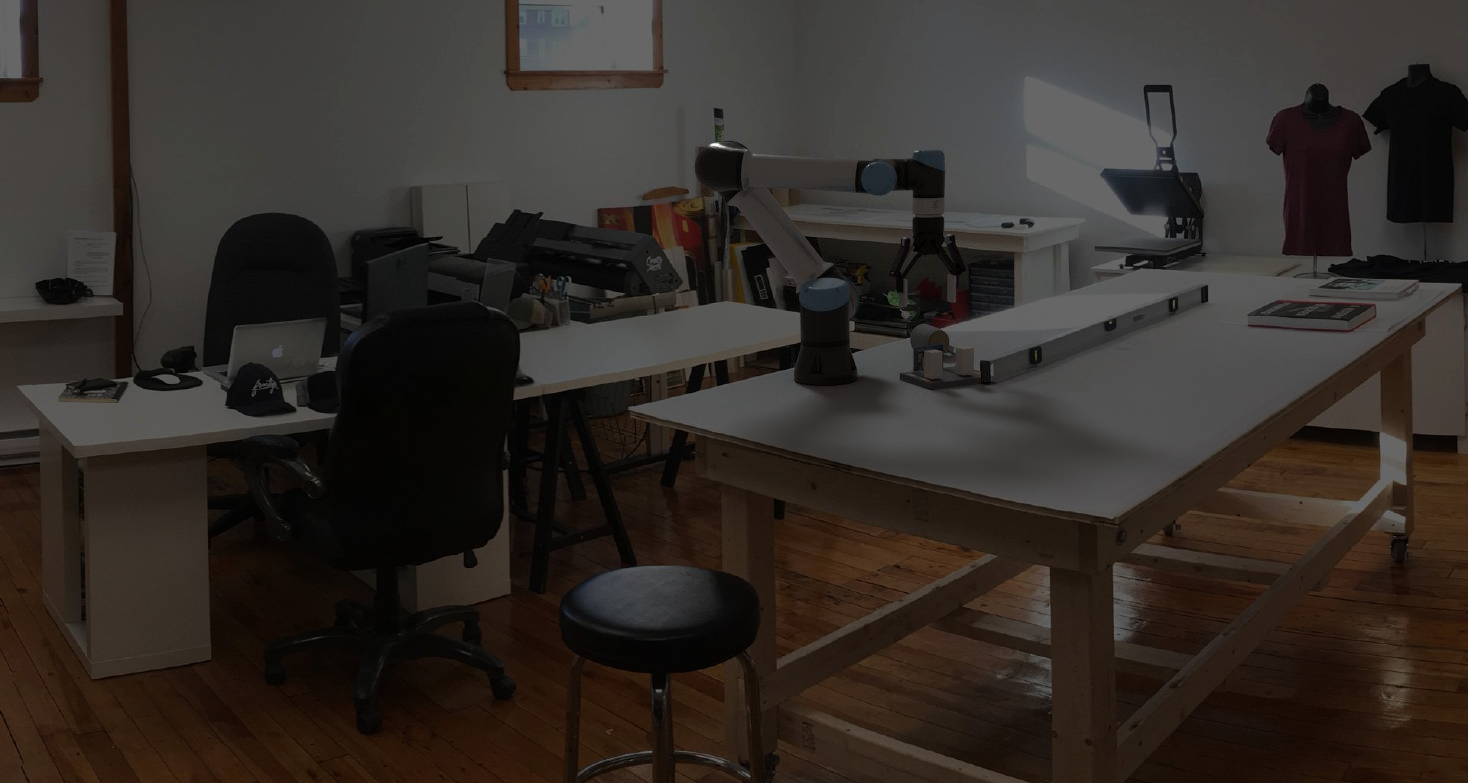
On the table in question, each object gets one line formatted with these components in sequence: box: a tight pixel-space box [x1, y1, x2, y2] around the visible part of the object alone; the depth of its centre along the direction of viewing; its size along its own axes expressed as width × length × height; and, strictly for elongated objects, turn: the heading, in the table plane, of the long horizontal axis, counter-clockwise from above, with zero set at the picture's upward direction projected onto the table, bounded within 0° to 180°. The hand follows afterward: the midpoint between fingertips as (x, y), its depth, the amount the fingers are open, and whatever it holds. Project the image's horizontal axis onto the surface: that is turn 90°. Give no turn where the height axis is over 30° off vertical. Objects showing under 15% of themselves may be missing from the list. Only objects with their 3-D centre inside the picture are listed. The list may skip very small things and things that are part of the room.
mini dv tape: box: [912, 344, 944, 371], centre depth 313 cm, size 8×2×6 cm, turn 122°
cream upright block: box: [924, 350, 942, 379], centre depth 295 cm, size 3×3×6 cm
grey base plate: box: [899, 365, 982, 391], centre depth 301 cm, size 17×14×2 cm
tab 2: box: [955, 345, 975, 375], centre depth 299 cm, size 3×3×6 cm
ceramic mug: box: [909, 323, 955, 355], centre depth 333 cm, size 11×8×8 cm
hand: (927, 304), depth 311 cm, fingers open, 13 cm apart
